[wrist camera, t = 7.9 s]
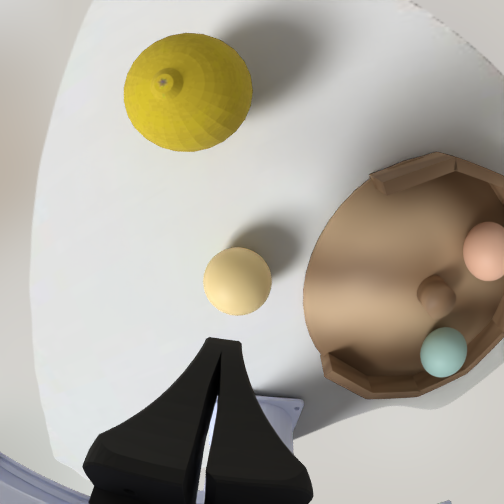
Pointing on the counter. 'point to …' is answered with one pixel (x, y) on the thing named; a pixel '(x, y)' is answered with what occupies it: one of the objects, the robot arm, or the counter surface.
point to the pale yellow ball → (237, 281)
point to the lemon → (188, 92)
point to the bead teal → (443, 352)
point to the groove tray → (403, 276)
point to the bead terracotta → (485, 251)
